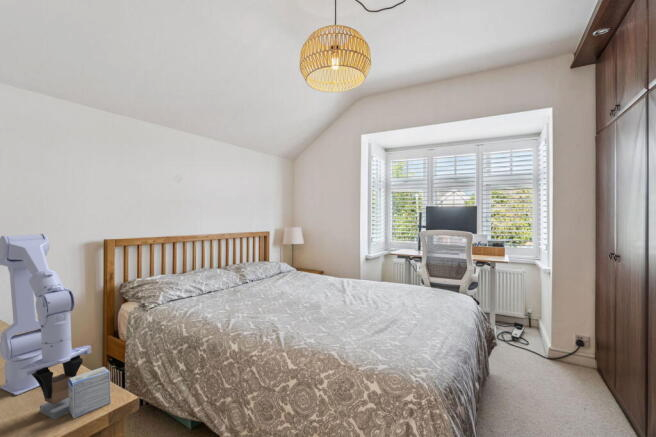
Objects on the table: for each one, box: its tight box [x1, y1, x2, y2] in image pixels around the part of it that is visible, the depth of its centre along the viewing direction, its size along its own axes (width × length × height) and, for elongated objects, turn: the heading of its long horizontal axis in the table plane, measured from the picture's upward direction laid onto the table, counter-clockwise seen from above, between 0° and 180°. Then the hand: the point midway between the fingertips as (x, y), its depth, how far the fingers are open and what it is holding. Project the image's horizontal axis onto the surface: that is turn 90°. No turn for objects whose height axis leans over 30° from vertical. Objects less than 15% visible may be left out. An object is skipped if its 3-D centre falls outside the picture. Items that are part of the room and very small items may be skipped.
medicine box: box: [68, 366, 112, 419], centre depth 81 cm, size 8×4×9 cm, turn 141°
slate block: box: [39, 398, 70, 420], centre depth 80 cm, size 7×5×2 cm
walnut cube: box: [44, 373, 71, 404], centre depth 80 cm, size 4×4×5 cm
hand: (58, 392), depth 80 cm, fingers closed on walnut cube, 4 cm apart
